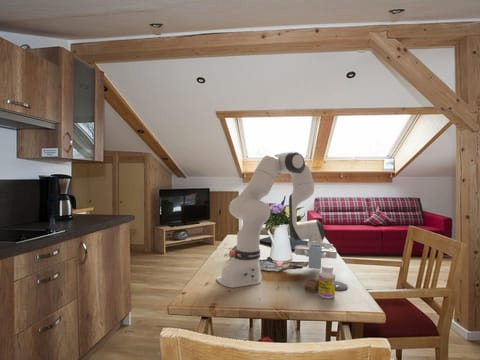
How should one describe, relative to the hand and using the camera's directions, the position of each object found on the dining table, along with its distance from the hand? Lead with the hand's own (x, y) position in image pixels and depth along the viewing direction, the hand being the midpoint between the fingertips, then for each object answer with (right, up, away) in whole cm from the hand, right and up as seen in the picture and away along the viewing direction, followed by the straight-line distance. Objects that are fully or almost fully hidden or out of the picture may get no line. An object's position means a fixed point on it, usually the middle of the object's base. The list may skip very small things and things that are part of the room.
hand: (315, 255), depth 143 cm
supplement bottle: (+1, -14, -14) cm, 20 cm away
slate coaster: (+9, -13, -3) cm, 16 cm away
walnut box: (-3, -13, -8) cm, 16 cm away
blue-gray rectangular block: (0, -6, +1) cm, 6 cm away
